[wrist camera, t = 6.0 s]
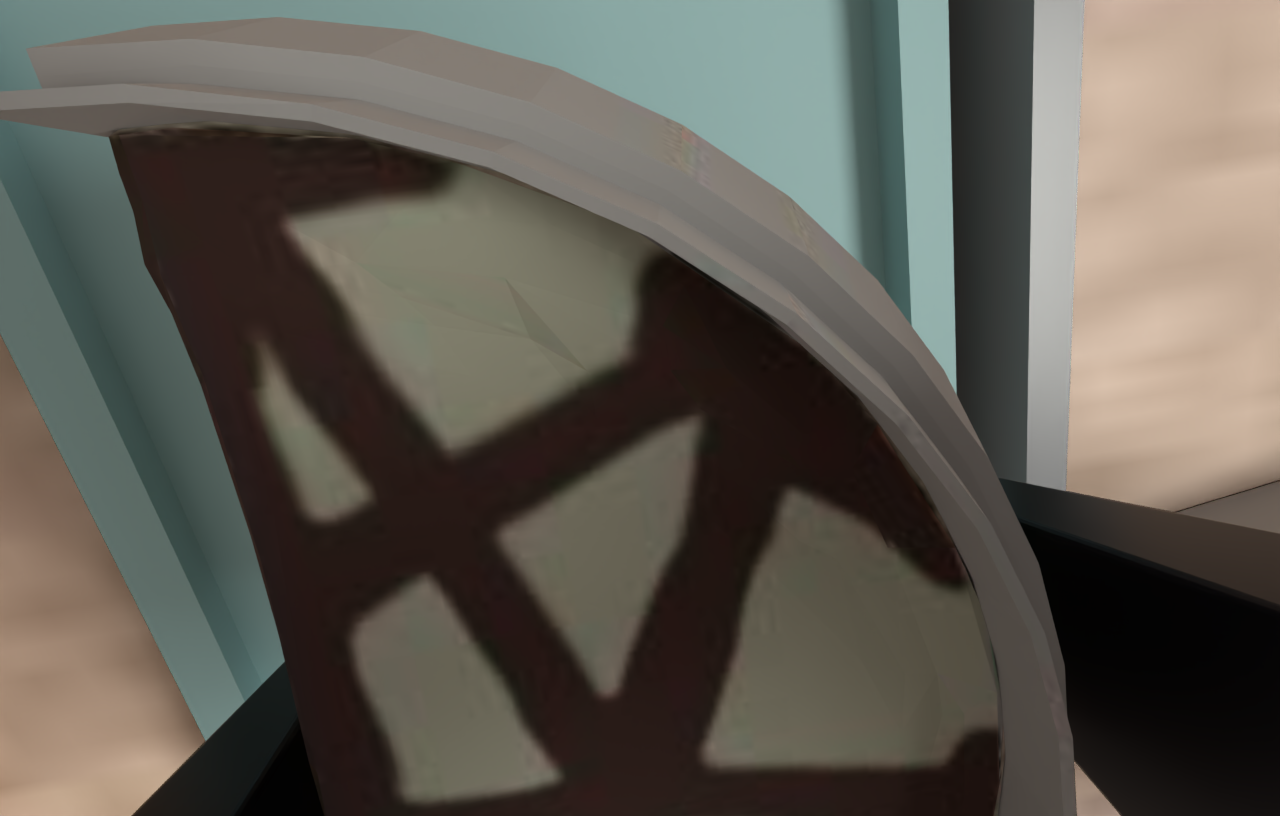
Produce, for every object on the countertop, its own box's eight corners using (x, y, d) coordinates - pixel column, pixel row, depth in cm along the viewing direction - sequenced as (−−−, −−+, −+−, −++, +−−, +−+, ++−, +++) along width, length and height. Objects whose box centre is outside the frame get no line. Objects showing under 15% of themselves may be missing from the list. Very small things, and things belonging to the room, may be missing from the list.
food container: (838, 656, 17) (1112, 1318, 7) (555, 693, 17) (475, 1388, 8) (793, 28, 13) (1275, -253, 3) (421, 86, 13) (-104, -32, 4)
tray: (920, 648, 22) (962, 695, 20) (307, 841, 20) (293, 915, 18) (875, -335, 14) (939, -403, 12) (-189, -215, 12) (-308, -278, 10)
